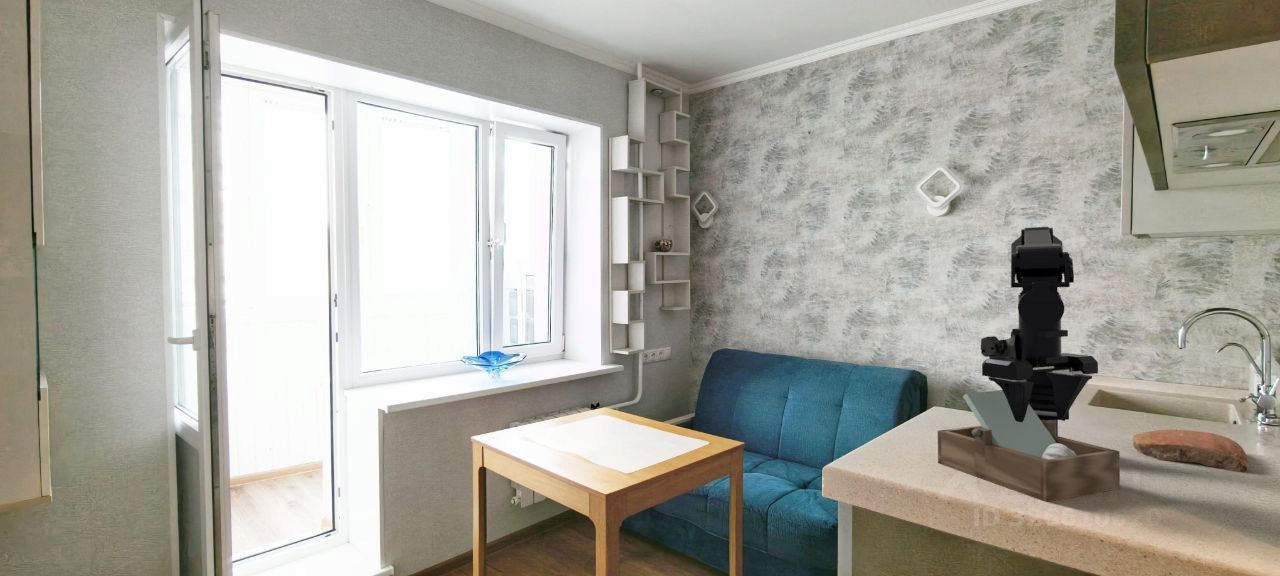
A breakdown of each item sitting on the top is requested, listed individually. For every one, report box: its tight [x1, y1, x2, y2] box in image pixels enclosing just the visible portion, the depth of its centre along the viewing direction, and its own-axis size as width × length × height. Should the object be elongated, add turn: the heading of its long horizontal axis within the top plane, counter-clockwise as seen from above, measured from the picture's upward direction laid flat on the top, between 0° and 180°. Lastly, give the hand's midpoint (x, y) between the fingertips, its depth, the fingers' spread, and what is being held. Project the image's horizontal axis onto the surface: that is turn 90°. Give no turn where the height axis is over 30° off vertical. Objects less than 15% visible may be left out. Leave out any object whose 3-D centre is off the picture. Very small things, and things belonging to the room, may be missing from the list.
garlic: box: [1042, 443, 1076, 460], centre depth 93 cm, size 6×5×5 cm
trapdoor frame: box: [937, 420, 1121, 502], centre depth 99 cm, size 18×20×8 cm
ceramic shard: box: [1131, 428, 1250, 473], centre depth 108 cm, size 15×6×15 cm
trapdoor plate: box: [962, 389, 1056, 458], centre depth 100 cm, size 12×14×1 cm
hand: (1040, 419), depth 96 cm, fingers open, 9 cm apart
